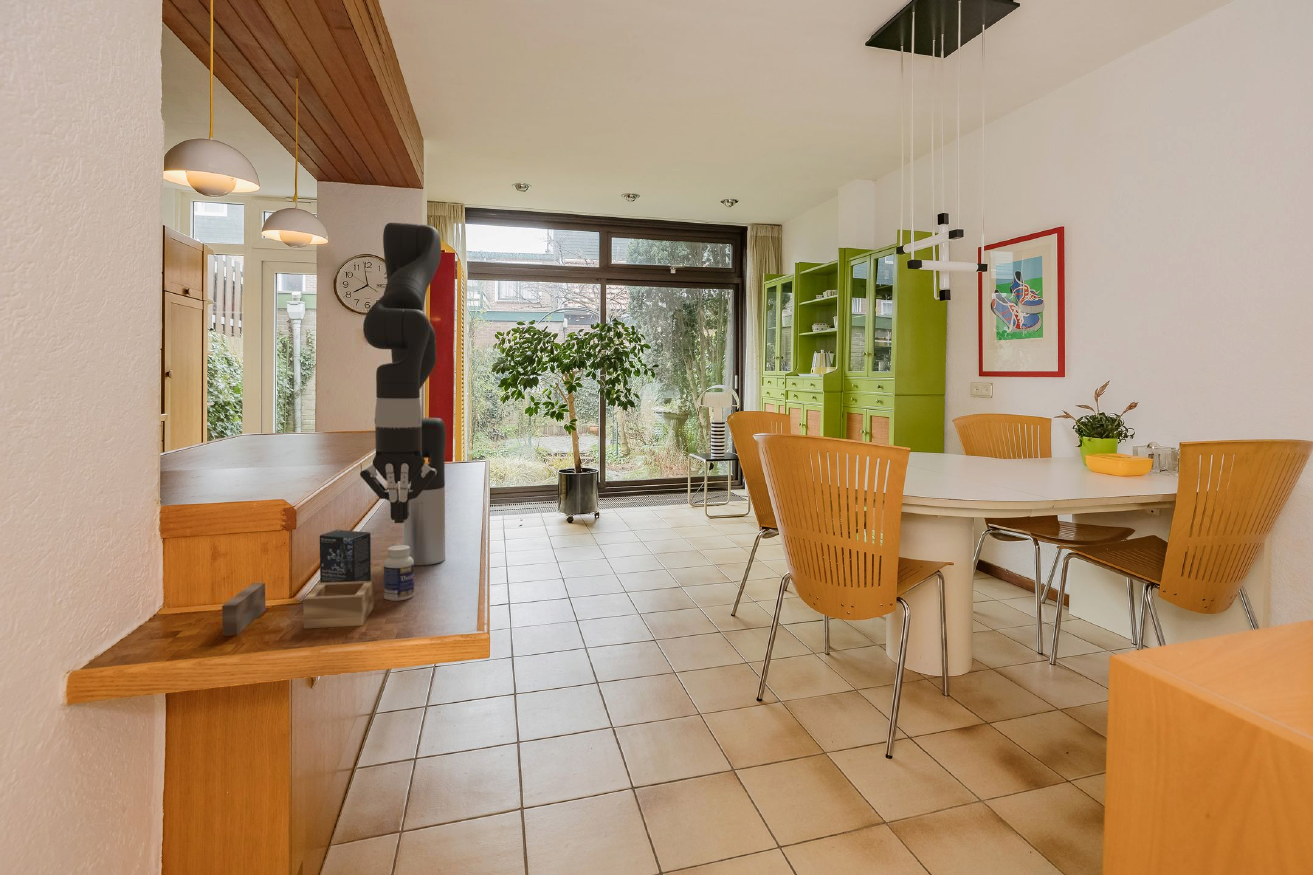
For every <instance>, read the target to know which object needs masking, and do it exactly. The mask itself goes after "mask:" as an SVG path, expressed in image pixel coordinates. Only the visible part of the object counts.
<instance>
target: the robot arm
mask: <svg viewBox="0 0 1313 875" xmlns="http://www.w3.org/2000/svg"><path fill="white" fill-rule="evenodd" d="M441 241H442V240H441V238H440V233H439V232H438V229H436V228H435V227H434V226H432V225H428V224H418V223H406V222H388V223H386V225H384V229H383V236H382V246H383V247H382V248H383V256H384V258H383V259H384V264H385V274H386V285H385V288H384V292H383V295H382V296H381V297H380V298H379V299H378V300H377V301H376V302H375V303H374V304H373V305H372V306H371V307H370V308H369V310H368V311H367V312H366V315H365V317H364V320H363V325H362V326H363V327H362V329H363V330H362V331H363V332H362V333H363V335H364V338H365V340H366V342H367V343H368V344H369V345H370V346H372V347H373V348H375V349H378V350H390V351H391V353H390V354H391V362H389V363H384V364H380V365H379V366H377V368H376V374H375V380H376V382H375V385H376V386H375V390H376V393H375V394H376V401H375V410H374V411H375V412H374V426H375V428H374V430H375V431H374V432H375V434H374V436H375V437H374V438H375V455H374V457H373V458H372V464H370V465H369V466H368V467H367V468H365V469H363V470H362V471H360V473H359V476H360V477H361V479H362V480H363V481H364V482H365V483H366V484H367V485H368V486H369V488H371V491H373V492H374V493H375V495H377V497H378V498H379V499H380V500H387V501H388V502H389V504H390V519H391V521H394V524H402V545H407V546H409V547H410V554H409V556H410V557H412V558H413V560H414V566H428V565H435V564H438V563H442V562H444V561H445V560H446V499H445V498H446V497H445V496H446V493H445V492H446V486H445V485H446V482H445V480H446V478H445V477H446V476H445V472H446V471H445V470H446V469H445V468H446V466H445V462H446V461H445V460H446V459H445V458H446V442H447V441H446V440H447V437H446V435H447V434H446V433H447V432H446V429H447V428H446V425H445V422H444V420H443V419H442V418H441V417H439V418H438V417H422V406H421V399H420V395H421V394H420V393H421V389H422V387H423V385H424V384H425V382H426V381H427V379H428V378H429V377H430V375H431V373H432V372H433V370H434V368H435V366H436V363H437V338H436V337H437V336H436V332H435V328H434V327H433V325H432V323H431V321H430V320H429V318H428V316H427V314H426V313H425V312H424V311H423V310H424V307H425V301H426V293H427V291H428V289H429V286H430V284H431V282H432V281H433V279H434V277H435V274H436V273H437V271H438V268H440V263H441V257H442V244H441V243H442V242H441ZM428 458H429V460H430V461H429V463H427V464H426V460H425V459H428ZM377 472H378V473H377ZM378 474H380V476H381V477H382V479H383V480H384V481H386V483H387V489H386V487H385V486H384V485H383V483H382V482H381V481H380V480H379V479H378V478H377V476H378ZM399 489H400V490H399Z"/></svg>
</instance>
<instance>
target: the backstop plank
mask: <svg viewBox="0 0 1313 875" xmlns="http://www.w3.org/2000/svg"><path fill="white" fill-rule="evenodd" d="M266 607H267V606H266V582H253V583H251V584H250V585H248V586H246V587H245V588H244V589H242V591H240V592H239V593H237V594H236V595H235V596H234V597H232V598H230V599H229V600H228V601H226V602H225V603H224V604H223V605H222V606H221V611H222V612H221V613H222V637H230V636H238V635H239V634H240V633H242V631H244V630H245V629H246V628H247V627H248V626H249V625H251V624H252V622H254V621H255V620H256V619H257V618H258V617H260V616H261V615H262V614H263V613H264V612H265V611H266V609H267V608H266Z"/></svg>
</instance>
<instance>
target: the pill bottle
mask: <svg viewBox="0 0 1313 875" xmlns="http://www.w3.org/2000/svg"><path fill="white" fill-rule="evenodd" d="M409 554H410V547H409V546H407V545H403V544H398V545H391V546H388V547H387V556H388V558H386V559H385V560H384V561H383V596H384V599H385V600H388V601H392V602H395V601H397V602H398V601H405V600H408V599H410V598H412V597H413V596H414V595H415V569H414V568H415V565H414V560H413V558H412V557H410V556H409Z"/></svg>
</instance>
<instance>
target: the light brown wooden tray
mask: <svg viewBox="0 0 1313 875" xmlns="http://www.w3.org/2000/svg"><path fill="white" fill-rule="evenodd" d="M302 604H303V629H318V628H319V629H320V628H336V627H337V628H340V627H357V626H358V627H360V626H362V625H364V623H365V622H366V620H367V618H368V617H369V616H370V614H371V612H372V611H373V609H374V604H375V601H374V580H371V581H357V582H332V583H320V582H319V583H318V584H317V585H316V586H315V587H314V588H313V589H312V590H311V591H310V592H309V593H308V594H307V595H306V596H305V597H304V598H303V602H302Z"/></svg>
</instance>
